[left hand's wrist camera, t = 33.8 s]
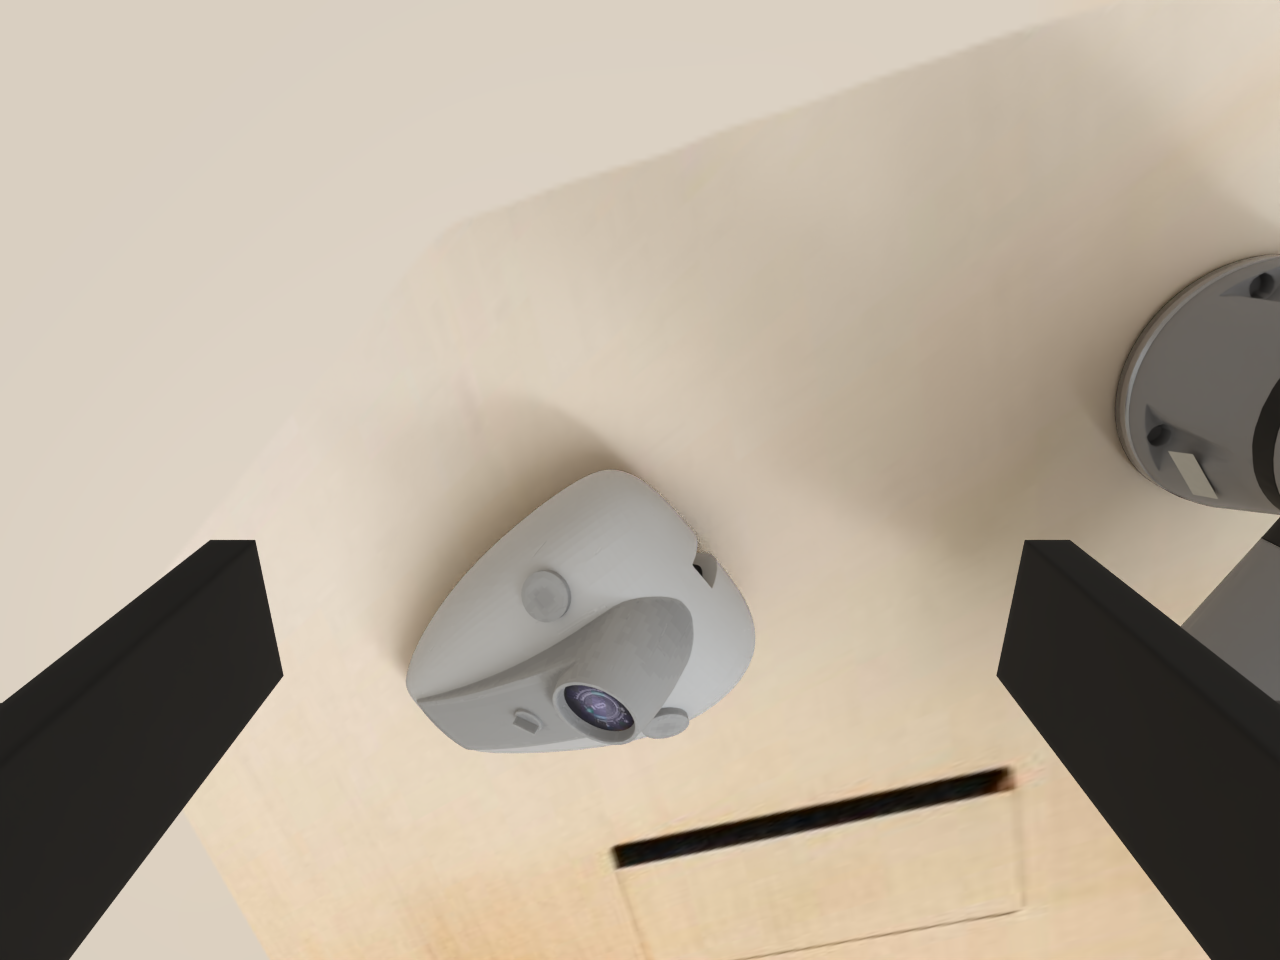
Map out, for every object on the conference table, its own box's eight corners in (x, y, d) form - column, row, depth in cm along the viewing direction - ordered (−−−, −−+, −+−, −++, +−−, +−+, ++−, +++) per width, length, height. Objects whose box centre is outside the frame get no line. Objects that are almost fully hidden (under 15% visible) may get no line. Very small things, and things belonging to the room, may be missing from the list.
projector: (407, 435, 46) (309, 533, 32) (765, 461, 47) (818, 568, 33) (419, 719, 54) (344, 895, 40) (725, 738, 55) (754, 917, 41)
